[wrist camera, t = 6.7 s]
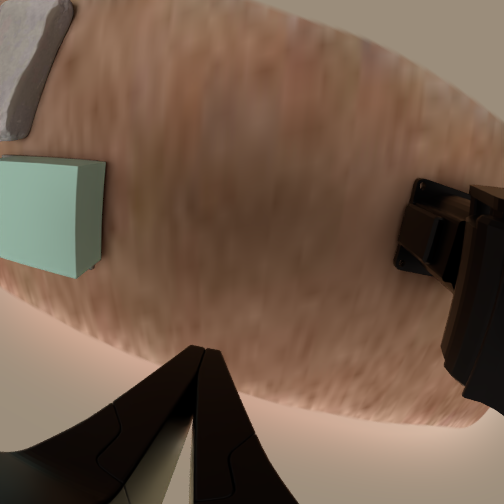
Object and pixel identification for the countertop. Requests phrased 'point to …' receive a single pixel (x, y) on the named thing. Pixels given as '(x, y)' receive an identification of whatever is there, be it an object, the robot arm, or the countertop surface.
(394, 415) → the countertop surface
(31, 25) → the stone block
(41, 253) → the slab
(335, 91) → the countertop surface
